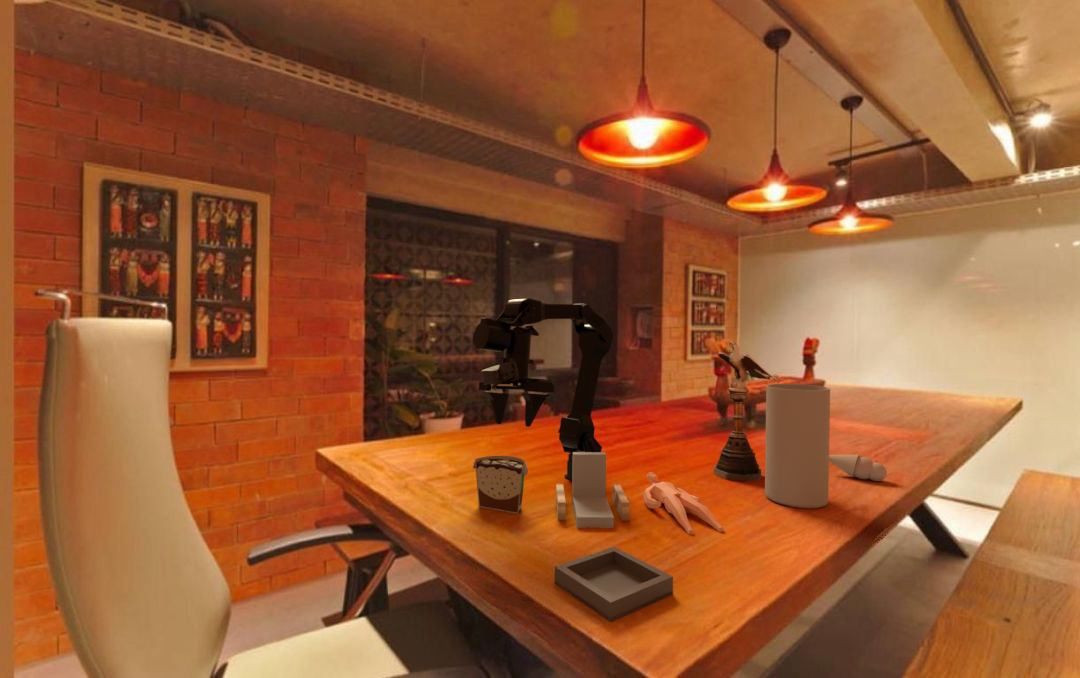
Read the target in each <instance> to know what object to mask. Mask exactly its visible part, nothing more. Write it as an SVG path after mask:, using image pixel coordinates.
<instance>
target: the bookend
mask: <svg viewBox="0 0 1080 678" xmlns="http://www.w3.org/2000/svg"><path fill="white" fill-rule="evenodd" d="M571 482H572V483H571V484H572V486H571V487H572V492H571V493H572V494H571V495H572V496H571V500H572V501H571V504H572V507H573V514H574V520H575V526H576V528H577V529H578V528H582V529H583V528H585V529H588V528H587V527H590V528H591V529H592V527H600V528H601V529H608V528H609V529H614V528H615V516H614V514H613V512H612V508H611V506H610V504H609V501H608V499H607V454H606V452H603V451H601V452H573V458H572V481H571ZM590 528H589V529H590ZM600 528H599V529H600Z"/></svg>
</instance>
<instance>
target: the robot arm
mask: <svg viewBox="0 0 1080 678" xmlns="http://www.w3.org/2000/svg"><path fill="white" fill-rule="evenodd" d="M546 320H571V322H572V327H573V330H574V332H575V334H576V335H577V336H578V348H579V350H580V354H581V359H580V366H579V371H578V375H577V381H576V386H575V392H574V397H573V401H572V405H571V406H572V407H571V410H570V413H569V414H568V415H567V416H566V417H564V416H562V417H561V418H560V424H559V429H558V431H557V433H558V440H559V442H560V443H561V446H562V447H561V448H562V450H563V453H568V456H567V457H568V460H567V461H566V474H564V478H566V479H569V480H572V458H573V452H602V449H603V447H602V445H601V444H600V443H599V442H598V441H597V439H596V438H595V430H596V429H595V428H596V427H595V425H594V421H593V418H592V410H593V405H594V401H595V395H596V390H597V386H598V385H597V384H598V380H599V374H600V369H601V364H602V360H603V358H604V357H605V356H606V355H607V354H608V353H609V351H610V349H611V345H612V342H613V339H614V331H613V330H612V328H611V327H610V325H609V324H608V323H607V322H606V320H605V319H604V318H603V317H601V316H600V315H599V314H597V312H595V311H594V310H593V309H592V307H591V306H590V305H589V304H587V303H585V302H584V303H570V304H569V303H547V302H543V301H542V300H538V299H534V298H528V297H527V298H517V299H516V298H515V299H509V300H508V301H507V302H506V304H505V306H504V309H503V310H502V312H501V313H500V314H499V315H498V317H497V318H496V319H493V318H491V317H490V318H489V317H480V323H478V324H477V326H476V327H475V330H474V332H473V333H472V343H473V345H474V347H475V348H476V349H477V350H483V351H490V352H497V353H498V352H499V353H502V352H504V353H503V354H504V355H503V357H499V360H498V364H497V365H493V366H490V367H487V368H485V369H482V370H480V371H481V377H482V379H480V381H479V382H478V391H483V392H481V393H482V395H485V396H486V397H487V399H488V400H489V402H490V404H491V407H492V412H493V416H494V420H495V423H496V425H501V424H502V422H503V419H504V415H505V411H506V407H507V404H508V403H507V402H508V399H509V395H510V394H509V393H507V392H508V391H509V390H511V391H512V390H515V391H517V390H518V391H519V390H520V391H524V392H525V393H524V392H523V393H521V395H522V397H523V399H524V401H525V405H524V408H525V410H524V413H525V414H524V415H525V416H524V421H525V427H526V428H530V427H531V426H532V424H533V422H534V420H535V419H536V416H537V415H538V412H539V411H540V409H541V407H542V406H543V404H544V403H545V402H546V400H547V398H550V394H555V384H554V381H553V380H552V379H546V378H532V377H530V365H534V361H535V360H534V359H531V341H532V337H538V336H539V335H540V333H539V332H538V331H537V330H536V329H535V327H534V325H533V324H536V323H541V322H544V321H546ZM585 323H586V324H585ZM524 325H526V326H525V327H523V326H524Z"/></svg>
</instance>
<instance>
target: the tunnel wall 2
mask: <svg viewBox="0 0 1080 678" xmlns="http://www.w3.org/2000/svg"><path fill="white" fill-rule="evenodd" d="M612 502H613V503H614V507H615V509H616V511H617V513H618V516H619V518H620V520H621V521H622V522H623V521H625V522H626V521H628V522H629V521H630V501H629V500H628V497H627V496H626V493H625V491H624V489H623V488H622V486H621V484H620V483H612Z"/></svg>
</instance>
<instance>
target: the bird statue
mask: <svg viewBox="0 0 1080 678" xmlns="http://www.w3.org/2000/svg"><path fill="white" fill-rule="evenodd" d="M728 344H729V345H728V346H730V347H729V348H728V351H726V353H724V352H719V353H718V354H717V356H718V357H719V358H720V359H722V360H723V361H724V362H725V363H726V364H728V366H730V367H731V368H732V369H734V376H735V378H734V379H733V380H732V381H730V387H728V389H727V391H728V392H729V394H728V395H729V396H728V398H729V399H730V400H733V402H732V403H733V415H732V416H731V418H732V419H733V430H732V431H731V432H730V433H729V434H728V438H727V440H726V442H725V445H724V446H723V447H722V449H721V451H720V452H719V454H720V455H719V458H718V461H717V463H716V464H715V465H714V466H713V475H715V476H717V477H720V478H722V479H725V480H728V481H736V482H742V483H743V482H744V483H745V482H754V481H761V478H762V469H761V468H760V465H759V463H758V461H757V458H756V452H754V449H753V448H752V447H751V444H750V443H749V440H748V435H747V434H746V433H745V432H744V431H743V428H744V427H743V423H744V422H743V421H744V418H745V416H744V410H743V409H744V405H743V404H744V401H746V400H748V393H749V392H750V390H749V388H747V384H746V378H747V375H749V376H750V378H751V379H752V378H755V379H759V380H761V379H762V380H771V378H772V379H773V380H774V381H776V382H777V384H780V381H779V380H778V378H779V375H778V374H775V373H769V372H768V371H767V370H765V369H764V368H763V367H762V366H761V364H759V363H758V362H757V361H756V360H755V359H754V358H753V357H752V356H750V355H749V354H742V356H741V355H740V347H739V345H738V343H736V342H734V341H729V343H728ZM731 348H732V351H731ZM727 353H728V354H727Z"/></svg>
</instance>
